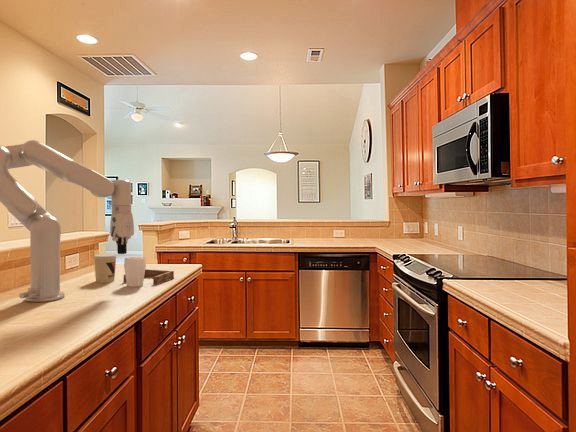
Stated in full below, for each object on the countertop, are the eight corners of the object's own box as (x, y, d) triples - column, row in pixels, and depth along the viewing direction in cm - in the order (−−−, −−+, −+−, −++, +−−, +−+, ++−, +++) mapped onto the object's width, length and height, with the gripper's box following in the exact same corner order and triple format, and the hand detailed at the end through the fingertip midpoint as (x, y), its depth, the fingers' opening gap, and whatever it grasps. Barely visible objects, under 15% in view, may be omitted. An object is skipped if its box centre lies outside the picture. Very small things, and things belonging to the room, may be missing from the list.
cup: (123, 284, 178) (123, 257, 177) (144, 282, 181) (144, 256, 181) (124, 288, 169) (124, 260, 169) (146, 286, 173) (146, 259, 173)
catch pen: (155, 284, 177) (155, 277, 177) (123, 282, 181) (123, 274, 180) (173, 278, 193) (173, 271, 193) (143, 276, 196) (143, 269, 196)
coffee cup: (110, 283, 178) (110, 256, 178) (89, 282, 179) (89, 256, 178) (119, 279, 188) (119, 254, 187) (100, 278, 188) (100, 253, 187)
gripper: (118, 210, 156) (118, 256, 157) (140, 209, 171) (140, 251, 172) (101, 210, 158) (102, 255, 159) (124, 209, 173) (125, 251, 173)
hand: (122, 253), depth 165 cm, fingers closed
